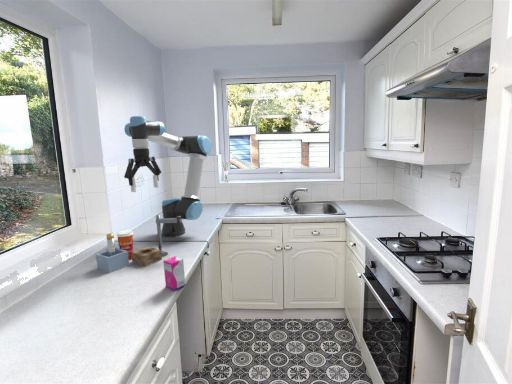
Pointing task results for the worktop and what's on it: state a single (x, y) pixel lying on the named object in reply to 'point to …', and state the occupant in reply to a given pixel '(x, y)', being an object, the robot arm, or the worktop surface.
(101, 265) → the blue open box
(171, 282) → the supplement box
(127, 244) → the paper cup
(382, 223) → the worktop surface
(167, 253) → the base
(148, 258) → the socket block
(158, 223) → the grey tall angled piece
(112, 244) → the pin
